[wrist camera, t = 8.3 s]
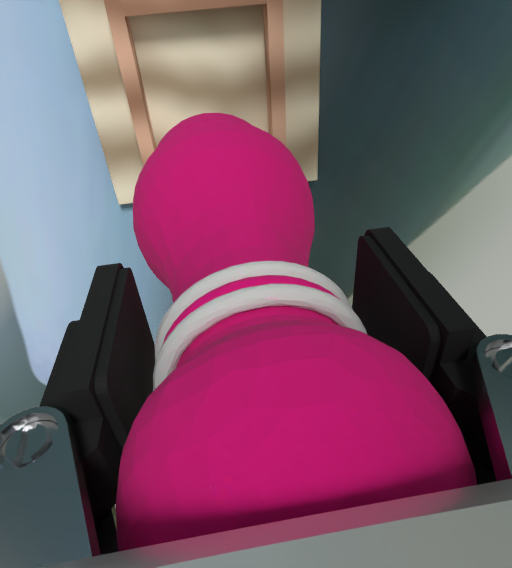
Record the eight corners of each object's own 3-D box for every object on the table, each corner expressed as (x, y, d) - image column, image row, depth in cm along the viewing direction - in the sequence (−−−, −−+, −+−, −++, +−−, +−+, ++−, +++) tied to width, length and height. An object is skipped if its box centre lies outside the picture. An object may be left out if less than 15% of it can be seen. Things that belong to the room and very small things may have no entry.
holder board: (44, -60, 29) (31, -65, 26) (319, -81, 30) (331, -87, 28) (120, 200, 41) (116, 214, 38) (314, 176, 42) (323, 188, 40)
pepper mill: (210, 266, 23) (305, 897, 7) (106, 173, 19) (-263, 1121, 3) (312, 182, 21) (783, 765, 5) (220, 62, 17) (958, 878, 1)
